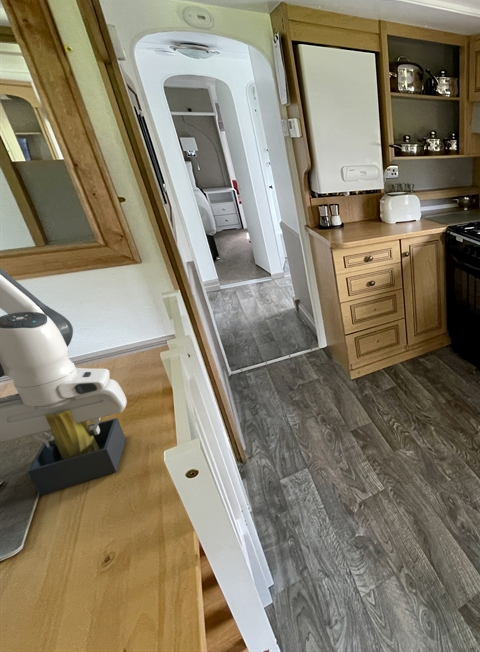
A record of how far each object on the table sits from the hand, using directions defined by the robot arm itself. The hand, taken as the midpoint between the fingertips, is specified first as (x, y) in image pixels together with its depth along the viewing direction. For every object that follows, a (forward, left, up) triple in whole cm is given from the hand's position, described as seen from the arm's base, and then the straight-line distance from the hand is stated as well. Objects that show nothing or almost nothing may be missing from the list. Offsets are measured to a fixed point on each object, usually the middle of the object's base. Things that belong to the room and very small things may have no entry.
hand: (75, 439), depth 84 cm
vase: (0, 0, -6) cm, 6 cm away
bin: (0, 0, -7) cm, 7 cm away
